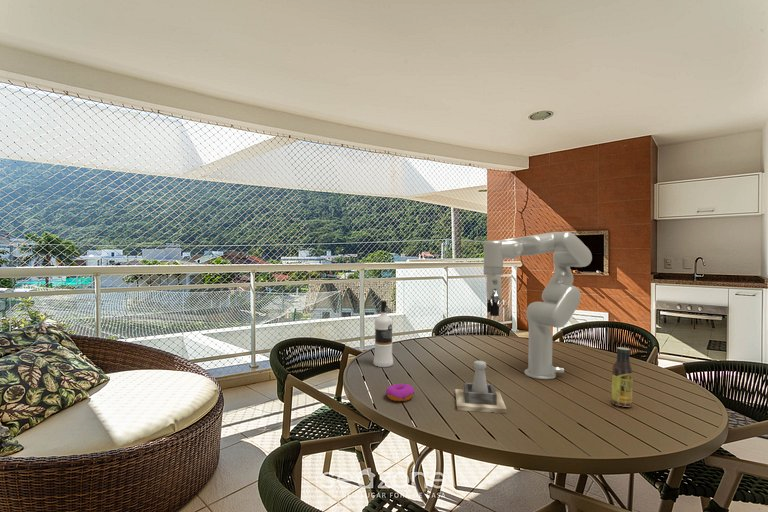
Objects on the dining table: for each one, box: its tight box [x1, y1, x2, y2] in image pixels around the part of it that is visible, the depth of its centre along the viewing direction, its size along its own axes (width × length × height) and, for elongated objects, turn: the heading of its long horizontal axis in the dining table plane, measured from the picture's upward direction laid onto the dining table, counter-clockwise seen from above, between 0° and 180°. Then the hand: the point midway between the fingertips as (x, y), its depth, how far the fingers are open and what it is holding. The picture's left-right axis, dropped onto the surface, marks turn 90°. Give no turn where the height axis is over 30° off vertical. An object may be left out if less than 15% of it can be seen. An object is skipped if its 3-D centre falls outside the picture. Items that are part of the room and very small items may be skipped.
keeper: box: [454, 382, 508, 414], centre depth 136 cm, size 16×16×5 cm
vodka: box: [372, 300, 394, 368], centre depth 180 cm, size 9×9×30 cm
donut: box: [385, 383, 415, 402], centre depth 140 cm, size 10×10×5 cm
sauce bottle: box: [610, 346, 634, 406], centre depth 135 cm, size 6×6×20 cm
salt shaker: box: [472, 360, 488, 393], centre depth 136 cm, size 6×6×13 cm
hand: (492, 313), depth 155 cm, fingers open, 9 cm apart
